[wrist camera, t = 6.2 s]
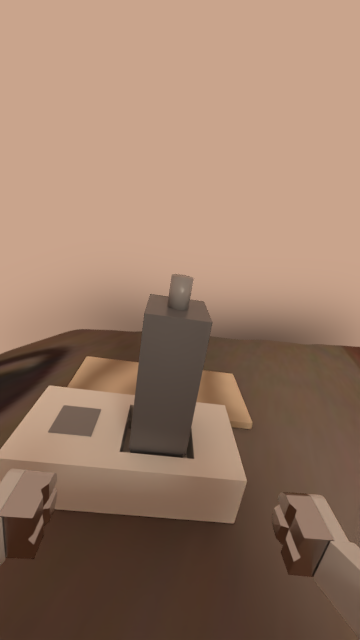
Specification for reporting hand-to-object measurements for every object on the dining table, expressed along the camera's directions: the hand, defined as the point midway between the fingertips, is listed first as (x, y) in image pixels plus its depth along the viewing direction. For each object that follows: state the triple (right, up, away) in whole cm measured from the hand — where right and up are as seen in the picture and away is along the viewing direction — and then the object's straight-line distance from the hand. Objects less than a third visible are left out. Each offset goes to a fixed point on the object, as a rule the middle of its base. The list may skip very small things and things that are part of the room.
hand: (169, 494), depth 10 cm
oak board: (-2, -2, +23) cm, 23 cm away
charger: (-2, -4, +12) cm, 13 cm away
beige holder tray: (-4, -6, +13) cm, 14 cm away
